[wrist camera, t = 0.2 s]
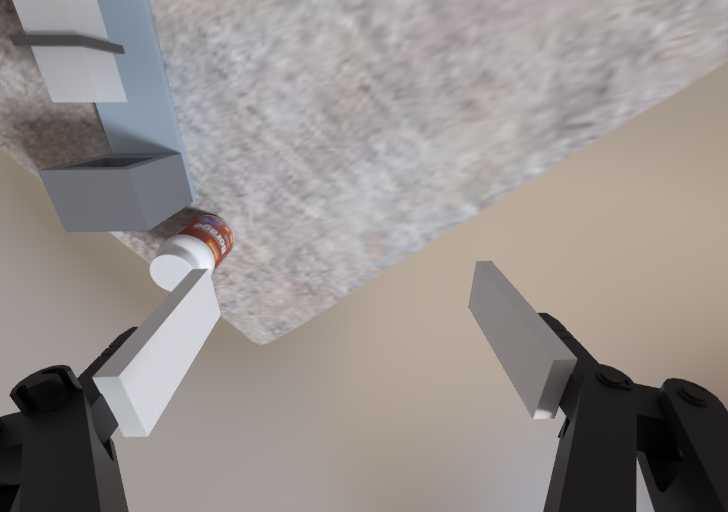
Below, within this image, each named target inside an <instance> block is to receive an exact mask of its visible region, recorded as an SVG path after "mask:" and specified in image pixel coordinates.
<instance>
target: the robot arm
mask: <svg viewBox="0 0 728 512" xmlns="http://www.w3.org/2000/svg"><path fill="white" fill-rule="evenodd" d="M469 309H470V310H471V312H472V314H473V316H474V317H475V319H476V321H477V323H478V324H479V326H480V328H481V330H482V331H483V333H484V335H485V336H486V338H487V340H488V342H489V343H490V345H491V347H492V349H493V350H494V352H495V354H496V356H497V357H498V359H499V361H500V363H501V364H502V366H503V368H504V369H505V371H506V373H507V375H508V376H509V378H510V380H511V382H512V383H513V385H514V387H515V389H516V391H517V392H518V394H519V396H520V397H521V399H522V401H523V403H524V404H525V406H526V408H527V410H528V411H529V413H530V415H531V417H532V418H533V419H548V418H555V416H556V413H557V411H558V408H559V406H560V408H561V409H562V410H563V412H564V414H565V415H566V418H565V421H564V424H563V426H562V428H561V431H560V433H559V435H558V438H560V441H559V445H558V450H557V454H556V459H555V463H554V467H553V472H552V476H551V481H550V485H549V489H548V494H547V498H546V502H545V507H544V511H543V512H636V461H637V459H636V458H638V461H639V464H640V468H641V471H642V474H643V477H644V480H645V483H646V486H647V489H648V493H649V495H650V499H651V502H652V505H653V508H654V511H655V512H728V411H727V410H726V408H725V407H724V405H723V404H722V402H721V401H720V400H719V399H718V398H717V397H716V396H715V395H713V394H712V393H711V392H709V391H708V390H707V389H705V388H703V387H701V386H699V385H697V384H695V383H692V382H689V381H686V380H683V379H676V378H671V379H667V380H666V381H665V382H664V383H663V385H662V387H661V388H655V387H650V386H645V385H640V384H635V383H633V381H632V380H631V379H630V378H629V377H628V376H627V375H625V374H624V373H622V372H621V371H619V370H617V369H615V368H613V367H610V366H607V365H603V364H599V363H598V362H597V361H596V360H595V359H594V358H593V357H592V356H591V355H590V353H589V352H588V351H587V350H586V349H585V348H584V347H583V346H582V345H581V344H580V343H579V342H578V341H577V340H576V339H575V338H574V337H573V335H571V333H569V331H567V329H566V328H565V327H564V326H563V325H562V324H561V323H560V322H559V321H558V320H557V319H555V318H553V317H552V316H550V315H549V314H547V313H537V312H536V311H535V310H534V309H533V308H532V307H531V305H530V304H529V303H528V302H527V301H526V300H525V299H524V297H523V296H522V295H521V294H520V293H519V292H518V291H517V290H516V288H515V287H514V286H513V285H512V284H511V283H510V282H509V281H508V279H506V277H505V276H504V275H503V274H502V272H501V271H500V270H499V269H498V268H497V267H496V266H495V265H494V263H493V262H492V261H477V262H476V266H475V271H474V278H473V283H472V290H471V295H470V301H469ZM219 316H220V311H219V307H218V303H217V299H216V295H215V292H214V288H213V284H212V280H211V276H210V272H209V269H192V270H191V271H190V272H189V273H188V274H187V275H186V276H185V277H184V279H183V280H182V281H181V282H180V283H179V284H178V285H177V286H176V287H175V288H174V289H173V290H172V292H171V293H170V294H169V295H168V296H167V297H166V298H165V299H164V300H163V301H162V302H161V304H160V305H159V306H158V307H157V308H156V309H155V310H154V311H153V312H152V313H151V314H150V315H149V316H148V317H147V319H146V320H145V321H144V322H143V323H142V324H141V325H140V326H139V327H132V328H130V329H129V330H127V331H125V332H124V333H122V334H121V335H119V336H118V337H117V338H116V339H115V340H114V341H113V343H111V345H109V348H107V349H105V350H104V351H103V352H102V354H101V356H99V357H98V358H97V359H96V360H95V361H94V362H93V363H92V364H91V365H90V366H89V367H88V368H87V369H86V370H85V371H84V372H83V373H82V374H81V375H80V376H79V377H78V378H76V376H75V375H74V373H73V371H72V370H71V368H70V367H69V366H66V365H57V366H51V367H48V368H45V369H42V370H40V371H37V372H35V373H33V374H31V375H29V376H28V377H26V378H25V379H23V380H22V381H20V382H19V383H18V384H17V385H16V386H15V387H14V388H13V389H12V391H11V393H10V397H11V398H12V400H13V401H14V402H15V404H16V405H17V407H18V408H19V409H20V410H21V412H17V413H13V414H9V415H5V416H2V417H0V512H128V507H127V502H126V498H125V494H124V488H123V484H122V479H121V474H120V470H119V466H118V460H117V456H116V451H115V446H114V443H113V441H112V439H111V437H110V436H111V435H112V434H113V432H114V431H115V429H116V428H117V427H118V426H119V428H120V430H121V432H122V433H123V435H124V437H142V436H148V435H149V433H150V432H151V430H152V429H153V427H154V425H155V424H156V422H157V420H158V419H159V417H160V415H161V413H162V412H163V410H164V408H165V407H166V405H167V403H168V402H169V400H170V398H171V397H172V395H173V393H174V392H175V390H176V388H177V387H178V385H179V383H180V382H181V380H182V378H183V377H184V375H185V373H186V372H187V370H188V368H189V366H190V365H191V363H192V362H193V360H194V358H195V357H196V355H197V353H198V352H199V350H200V348H201V347H202V345H203V343H204V342H205V340H206V338H207V337H208V335H209V333H210V331H211V330H212V328H213V326H214V325H215V323H216V321H217V320H218V318H219Z"/></svg>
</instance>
